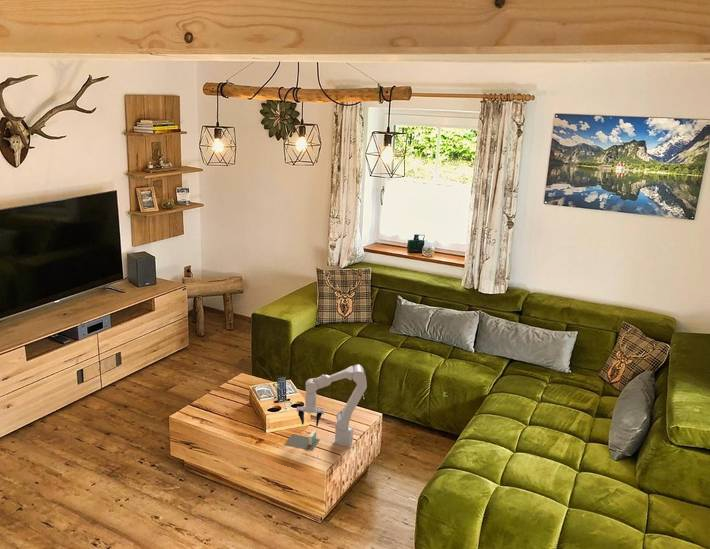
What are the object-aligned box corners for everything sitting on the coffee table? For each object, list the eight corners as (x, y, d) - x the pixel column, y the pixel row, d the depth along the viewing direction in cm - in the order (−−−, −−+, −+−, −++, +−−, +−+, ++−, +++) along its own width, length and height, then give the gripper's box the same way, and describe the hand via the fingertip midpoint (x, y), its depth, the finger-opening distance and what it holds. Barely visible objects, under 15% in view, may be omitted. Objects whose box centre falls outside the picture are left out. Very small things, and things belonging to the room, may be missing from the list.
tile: (316, 439, 334) (316, 431, 332) (312, 445, 328) (312, 436, 327) (312, 438, 334) (312, 430, 333) (308, 444, 329) (309, 436, 327)
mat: (320, 440, 334) (320, 439, 334) (312, 451, 323) (312, 450, 323) (292, 434, 338) (292, 433, 338) (283, 445, 327) (283, 444, 327)
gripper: (325, 399, 329) (324, 422, 333) (298, 396, 331) (298, 419, 335) (323, 405, 323) (322, 428, 326) (295, 402, 324) (295, 425, 328)
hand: (309, 424), depth 330 cm, fingers open, 7 cm apart
